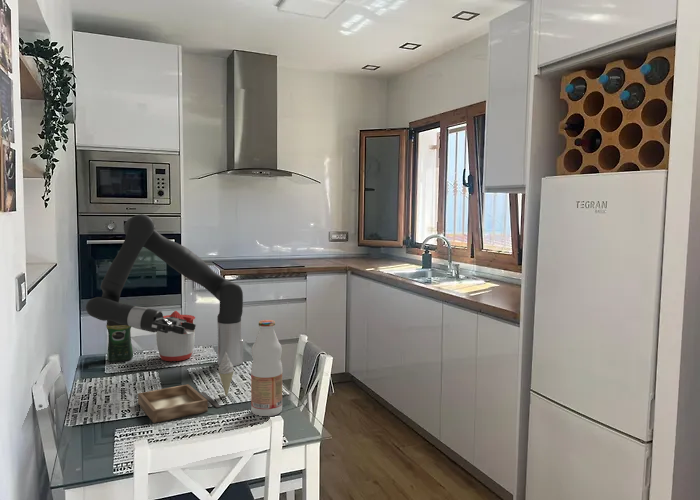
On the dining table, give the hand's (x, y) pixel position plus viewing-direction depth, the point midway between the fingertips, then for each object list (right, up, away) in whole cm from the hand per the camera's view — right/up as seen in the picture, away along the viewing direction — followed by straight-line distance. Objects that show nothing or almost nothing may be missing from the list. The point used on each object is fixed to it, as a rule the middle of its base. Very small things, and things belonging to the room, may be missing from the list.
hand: (189, 329), depth 176 cm
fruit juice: (+29, -23, -17) cm, 40 cm away
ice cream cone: (+13, -22, -3) cm, 26 cm away
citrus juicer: (-17, -19, +40) cm, 47 cm away
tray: (+1, -22, -13) cm, 26 cm away
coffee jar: (-40, -18, +37) cm, 58 cm away
